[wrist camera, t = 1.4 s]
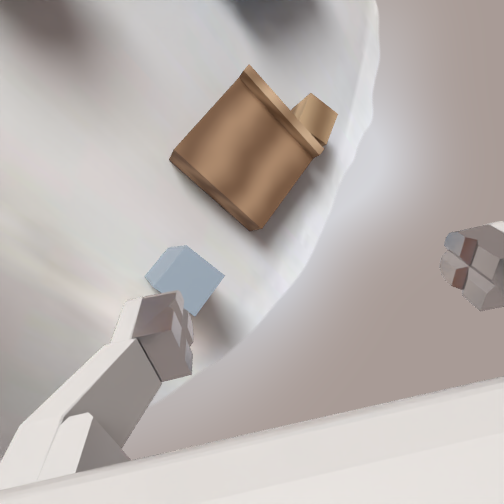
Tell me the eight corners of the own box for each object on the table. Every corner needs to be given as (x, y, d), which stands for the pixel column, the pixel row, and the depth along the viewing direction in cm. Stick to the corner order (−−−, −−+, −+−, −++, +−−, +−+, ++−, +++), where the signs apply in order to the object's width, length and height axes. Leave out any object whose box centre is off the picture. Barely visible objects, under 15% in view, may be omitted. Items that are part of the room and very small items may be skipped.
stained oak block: (279, 137, 43) (298, 124, 38) (291, 109, 44) (310, 92, 39) (305, 155, 45) (326, 144, 40) (316, 127, 46) (337, 114, 41)
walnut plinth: (169, 159, 37) (175, 145, 32) (233, 88, 40) (249, 64, 35) (249, 231, 41) (267, 228, 36) (301, 160, 44) (324, 148, 39)
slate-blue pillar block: (144, 276, 35) (153, 287, 24) (168, 247, 37) (186, 245, 26) (174, 297, 37) (195, 316, 26) (196, 269, 38) (224, 275, 27)
